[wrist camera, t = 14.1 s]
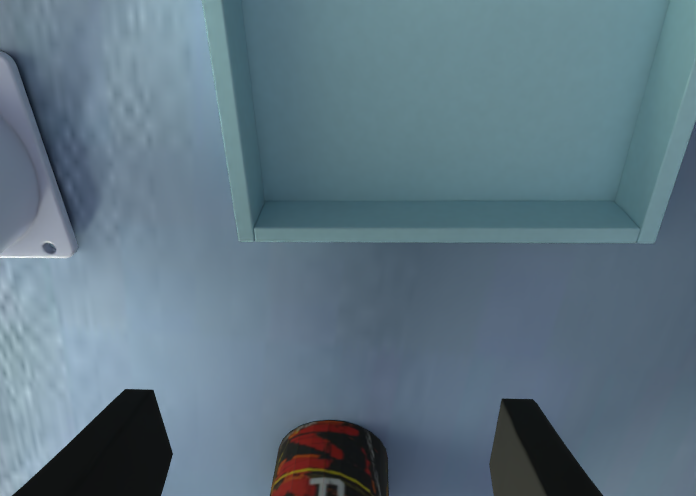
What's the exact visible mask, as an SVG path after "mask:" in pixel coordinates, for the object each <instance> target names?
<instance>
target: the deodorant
mask: <svg viewBox="0 0 696 496" xmlns="http://www.w3.org/2000/svg"><path fill="white" fill-rule="evenodd" d="M270 496H389V488H388V457H387V453H386V449H385V447H384V446H383V444H382V443H381V441H380V440H379V439H378V438H377V437H376V436H375V435H373V434H372V433H371V432H370V431H368V430H366V429H364V428H362V427H360V426H357V425H354V424H350V423H347V422H342V421H331V420H327V421H316V422H311V423H308V424H305V425H301V426H299V427H298V428H296V429H294V430H292V431H291V432H289V434H288V435H287V436H286V437H285V438H284V439H283V440H282V442H281V445H280V447H279V451H278V456H277V461H276V466H275V472H274V477H273V482H272V487H271V492H270Z"/></svg>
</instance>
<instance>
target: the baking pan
mask: <svg viewBox="0 0 696 496" xmlns="http://www.w3.org/2000/svg"><path fill="white" fill-rule="evenodd" d="M202 5H203V11H204V18H205V24H206V31H207V37H208V44H209V50H210V57H211V64H212V70H213V77H214V83H215V90H216V96H217V103H218V109H219V116H220V123H221V129H222V136H223V142H224V149H225V155H226V162H227V168H228V175H229V181H230V188H231V195H232V201H233V208H234V214H235V221H236V227H237V234H238V240H239V241H240V242H254V241H255V240H256V242H424V243H638V244H654V243H655V241H656V238H657V235H658V232H659V229H660V226H661V223H662V220H663V217H664V214H665V211H666V208H667V205H668V202H669V199H670V196H671V193H672V190H673V187H674V184H675V181H676V178H677V175H678V172H679V169H680V166H681V163H682V160H683V157H684V154H685V151H686V148H687V145H688V142H689V139H690V136H691V133H692V130H693V127H694V124H695V121H696V0H202Z"/></svg>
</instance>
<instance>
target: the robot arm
mask: <svg viewBox="0 0 696 496" xmlns="http://www.w3.org/2000/svg"><path fill="white" fill-rule="evenodd" d="M49 243H51V244H53V245H54V246H55V248H56V249H55V248H52V247H51V246H50V245H49ZM77 250H78V243H77V241H76V238H75V235H74V232H73V229H72V226H71V223H70V220H69V217H68V214H67V211H66V208H65V205H64V203H63V200H62V197H61V194H60V191H59V188H58V185H57V182H56V179H55V176H54V173H53V170H52V167H51V165H50V162H49V159H48V156H47V153H46V150H45V147H44V144H43V141H42V138H41V135H40V132H39V129H38V127H37V124H36V121H35V118H34V115H33V112H32V109H31V106H30V103H29V100H28V97H27V94H26V91H25V89H24V86H23V83H22V80H21V77H20V74H19V71H18V68H17V65H16V63H15V62H14V60H13V59H12V58H11V57H10V56H9V55H8V54H6V53H5V52H3V51H0V258H69V257H71V256H72V255H74V254H75V253H76V252H77ZM172 455H173V453H172V449H171V446H170V443H169V440H168V436H167V433H166V430H165V426H164V423H163V420H162V417H161V413H160V410H159V407H158V403H157V400H156V397H155V394H154V390H139V389H125V390H124V391H123V392H122V393H121V394H120V395H119V396H117V397H116V398H115V399H114V400H113V401H112V402H111V403H110V404H109V405H108V406H107V407H106V408H105V409H104V410H103V411H102V412H101V413H100V414H99V415H98V416H97V417H95V418H94V419H93V420H92V421H91V422H90V423H89V424H88V425H87V426H86V427H85V428H84V429H83V430H82V431H81V432H80V433H79V434H78V435H77V436H76V437H75V438H74V439H73V440H72V441H71V442H70V443H69V444H68V445H67V446H65V447H64V448H63V449H62V450H61V451H60V452H59V453H58V454H57V455H56V456H55V457H54V458H53V459H52V460H51V461H49V462H48V463H47V464H46V465H45V466H44V467H43V468H42V469H41V470H40V471H39V472H38V473H37V474H36V475H35V476H33V477H32V478H31V479H30V480H29V481H28V482H27V483H26V484H25V485H24V486H23V487H21V488H20V489H19V490H18V491H17V492H16V493H15V494H13V495H12V496H161V494H162V490H163V487H164V484H165V480H166V477H167V473H168V470H169V466H170V462H171V459H172ZM489 465H490V472H491V479H492V486H493V493H494V496H603V495H602V494H601V492H600V491H599V490H598V488H597V487H596V486H595V485H594V483H593V482H592V481H591V479H590V478H589V477H588V475H587V474H586V473H585V471H584V470H583V469H582V467H581V466H580V465H579V463H578V462H577V461H576V459H575V458H574V456H573V455H572V454H571V452H570V451H569V449H568V448H567V447H566V445H565V444H564V442H563V441H562V440H561V438H560V437H559V435H558V434H557V432H556V431H555V429H554V428H553V427H552V425H551V424H550V422H549V421H548V419H547V418H546V416H545V415H544V413H543V412H542V410H541V409H540V407H539V406H538V404H537V403H536V402H535V401H534V400H533V399H502V400H501V406H500V411H499V416H498V422H497V427H496V432H495V437H494V443H493V448H492V453H491V458H490V464H489Z"/></svg>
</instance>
